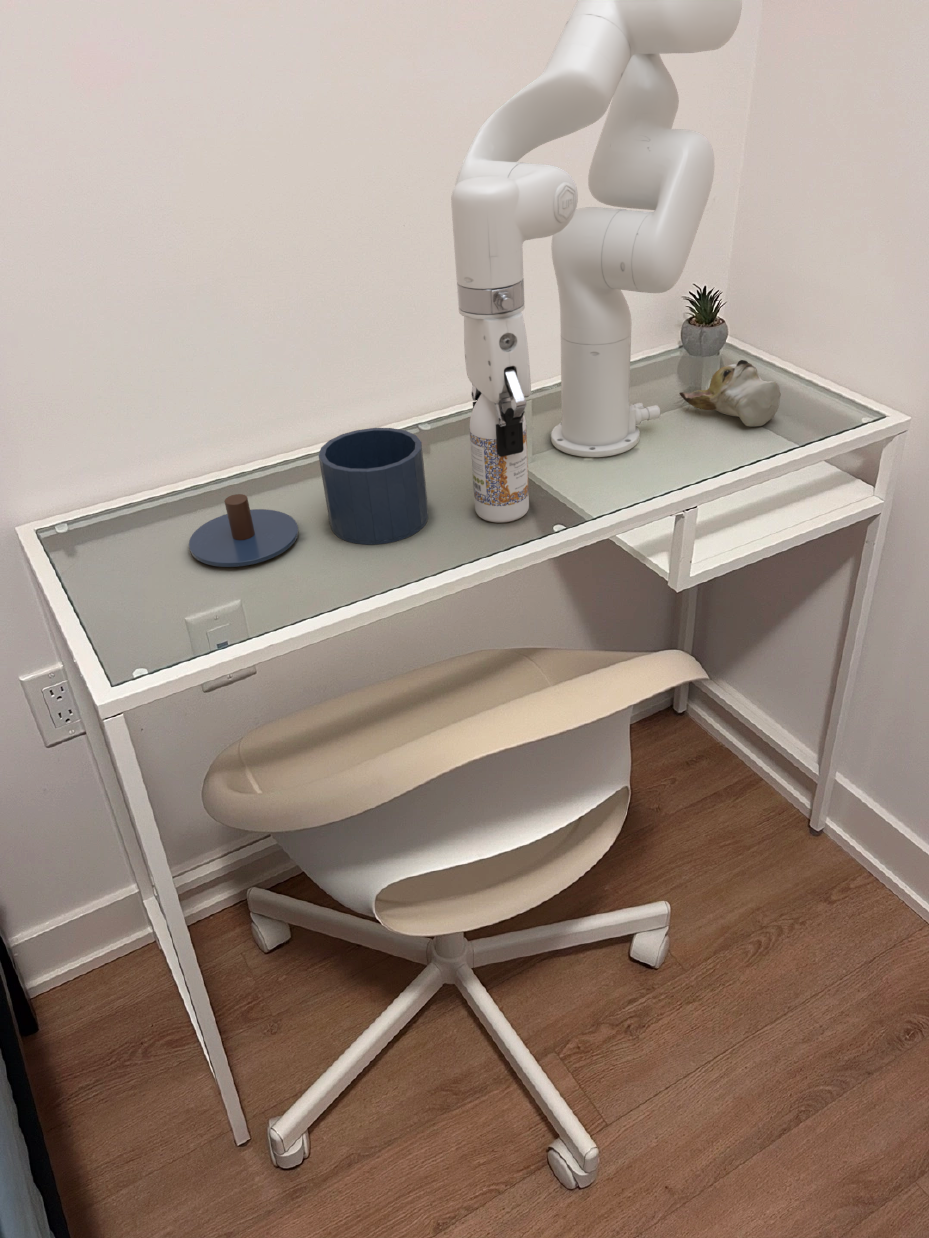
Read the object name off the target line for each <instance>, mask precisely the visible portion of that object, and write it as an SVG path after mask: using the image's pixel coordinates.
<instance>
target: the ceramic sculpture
mask: <svg viewBox="0 0 929 1238" xmlns="http://www.w3.org/2000/svg"><path fill="white" fill-rule="evenodd" d="M781 395H782V393H781V388H780V385H779V383H778V382H777V381H775V380H769V381H766V380H763V379H762V377H761V376H760V374H759V372H758V368H757V367H756V366H755V365H754V364H752V363H750V362H749V361H747V360H745V359H740V360H738V361H737V363H733V364H732V363H731V364H729V365H725V366H722V367H720V368H719V369H717V370H716V371H715V372H714V374H713V375H712V377H711V378H710V383H709V387H708V388H707V389H696V390H694V391H691V392H682V391H681V392H679V396H681V398H682V399H683V400H684V401H685V402H686V403H688V404H689V405H691V406H692V407H694V408H696V409H698V410H703V411H717V412H719V413H721V414H722V415H726V416H731V417H739V419H740V421H741V422H742V424H744V425H745V426H746V427H761V426H764V425H765V424H767V423H768V422H769V421H770V420H772V419H773V418H774V417H775V415H776V413H777V412H778V410H779V407H780V401H781Z"/></svg>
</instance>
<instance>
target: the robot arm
mask: <svg viewBox="0 0 929 1238" xmlns="http://www.w3.org/2000/svg"><path fill="white" fill-rule="evenodd" d="M742 6H743V0H576V2H575V4H574V6H573V8H572V11H571V12H570V15H569V16H568V18H567V21H566V22H565V25H564V27H563V29H562V31H561V34H560V35H559V38H558V40H557V42H556V44H555V46H554V48H553V50H552V51H551V54H550V57H549V59H548V61H547V62H546V65H545V68H544V69H543V71H542V73H540V75H539V76H538V77H536V78H535V79H534V80H532V81H531V82H529V83H528V84H526V85H525V86H523V87H522V88H521V89H520V90H518V91H517V92H516V93H515V94H513V95H512V96H510V98H509V99H507V100H506V101H505V102H504V103H503V104H502V105H500V107H498V108H497V109H495V111H493V112H492V113H491V114H490V115H489V116H488V117H487V118H486V119H485V121H484V122H483V123H482V124H481V126H480V127H479V128H478V130H477V132H476V133H475V135H474V137H473V138H472V141H471V143H470V146H469V147H468V150H467V151H466V154H465V156H464V158H463V161H462V163H461V165H460V167H459V170H458V173H457V176H456V179H455V183H454V187H453V188H452V191H451V197H450V203H451V204H450V205H451V219H452V232H453V233H452V234H453V247H454V249H453V250H454V263H455V274H456V289H457V292H456V293H457V306H458V313H459V314H460V315H461V316H462V317H463V342H464V345H463V346H464V348H463V349H464V363H465V371H466V377H467V379H468V381H469V382H470V383H471V385H472V386H471V392H470V393H471V399H472V409H473V408H474V406H475V404H476V402H477V400H478V399H479V397H480V395H481V394H483V395H484V396H485V397H487V398H488V399H489V400H490V401H492V402H494V403H495V408H496V413H497V417H498V422H499V424H496V440H497V454H498V455H499V456H500V457H503V456H508V455H512V454H517V453H521V452H523V449H524V448H523V421H524V418H523V415H524V416H525V410H526V407H527V401H526V399H527V398H529V397H531V394H532V382H531V381H532V380H531V368H530V355H529V346H528V338H527V337H528V336H527V330H526V325H525V319H524V313H522V312H523V311H524V310H525V308H526V307H525V306H526V305H525V278H524V256H523V255H524V253H523V252H524V251H523V246H524V245H523V244H524V242H525V241H531V240H535V239H543V238H548V237H551V245H550V247H551V259H552V260H551V261H552V265H553V271H554V275H555V279H556V284H557V291H558V299H559V300H558V301H559V317H560V319H559V321H560V389H561V391H560V393H561V395H560V396H561V401H560V403H561V404H560V405H561V422H559V423H558V424H557V425H555V426H554V427H553V428H552V429H551V432H550V442H551V444H552V445H553V446H554V447H555V448H556V449H557V450H559V451H561V452H563V453H565V454H568V455H571V456H575V457H576V456H577V457H583V458H607V457H611V456H617V455H620V454H623V453H625V452H628V451H630V450H631V449H633V448H635V447H636V446H637V444H638V443H639V442H640V429H639V428H638V426H639V425H641V423H642V422H644V421H652V420H656V419H659V418H660V417H661V409H660V407H659V405H658V404H654V405H650V406H649V405H648V406H644V404H643V402H637V403H633V404H630V395H631V394H630V392H631V391H630V390H631V359H632V358H631V356H632V354H631V353H632V351H631V350H632V314H631V310H630V307H629V304H628V301H627V299H626V297H625V295H624V293H623V291H628V292H636V293H644V294H662V293H665V292H668V291H670V290H671V289H673V288H674V286H675V285H676V284H677V283H678V281H679V280H680V278H681V276H682V274H683V272H684V269H685V268H686V267H685V266H686V265H687V261H688V258H689V256H690V253H691V250H692V247H693V245H694V241H695V238H696V235H697V233H698V229H699V227H700V225H701V221H702V218H703V216H704V213H705V209H706V207H707V204H708V200H709V197H710V194H711V191H712V186H713V182H714V175H715V153H714V149H713V146H712V143H711V141H710V140H709V139H708V138H707V137H706V136H705V135H704V134H703V133H701V132H699V131H696V130H692V129H685V128H684V129H683V128H673V126H674V123H675V119H676V116H677V112H678V110H679V103H680V97H679V92H678V90H677V86H676V84H675V81H674V78H673V77H672V75H671V73H670V72H669V70H668V68H667V67H666V65H665V64H664V61H663V59H662V57H661V54H663V55H664V54H665V55H666V54H667V55H669V54H695V53H701V52H710V51H715V50H719V49H720V48H723V46H725V45H726V44H727V43H728V42H729V41H730V40H731V38H733V36H734V34H735V33H736V30H737V28H738V26H739V23H740V19H741V15H742V8H743V7H742ZM608 108H609V109H608ZM607 111H608V112H607ZM606 112H607V114H606ZM604 115H606V118H605V120H604V123H603V127H602V129H601V132H600V135H599V138H598V141H597V143H596V147H595V150H594V151H593V156H592V158H591V163H590V166H589V170H588V176H587V182H588V183H587V184H588V190H589V192H590V194H591V197H593V198H594V199H595V200H596V202H599V203H601V204H604V205H606V206H610V207H601V206H600V207H599V206H586V207H579V208H578V202H579V201H578V199H579V193H578V187H577V184H576V182H575V180H574V178H573V177H572V176H571V174H570V173H569V172H567V170H565V169H564V168H561V167H559V166H556V165H553V164H545V163H532V162H530V163H529V162H519V161H520V160H521V159H522V158H523V157H524V156H526V155H527V154H529V153H530V152H531V151H533V150H535V149H537V148H538V147H540V146H543V145H544V144H547V143H549V142H552V141H555V140H558V139H560V138H563V137H565V136H568V135H571V134H574V133H576V132H578V131H581V130H582V129H585V128H587V127H589V126H591V125H593V124H595V123H596V122H598V121H599V120H600V119H601V118H602V117H603V116H604ZM612 207H616V208H612ZM632 209H635V210H632ZM643 210H647V211H643ZM507 392H508V393H509V396H510V397H506V398H500V397H499V394H502V393H507ZM506 403H511V405H510V406H511V407H510V408H508V409H507V410H506V412H505V414H504V410H503V405H502V404H506Z"/></svg>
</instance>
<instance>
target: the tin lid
mask: <svg viewBox="0 0 929 1238" xmlns="http://www.w3.org/2000/svg"><path fill="white" fill-rule="evenodd" d="M224 505H225V510H226V514H223V515H220V516H217V517H215V518H212V519H211V520H209V521H207V522H204V524H201V525H200V526H199V527H198V528H197V529H196V530H195V531H194V532H193V533H192V535H191V536H190V538H189V541H188V548H189V551H190V554H191V555H192V557H193V558H194V559H195V560H197V561H199V562H201V563H203V564H205V565H209V566H211V567H212V566H213V567H221V568H234V567H235V568H236V567H245V566H250V565H256V564H259V563H263V562H265V561H268V560H271V559H273V558H275V557H278V556H279V555H282V554H283V553H284V552H286V551H287V550H288V549H290V548H291V547H292V546H293V545H294V543H296V541H297V539H298V537H299V525H298V522H297V521H296V519H294V518H293V517H292V516H291V515H289V514H287V513H285V512H282V511H278V510H273V509H263V508H257V509H256V508H254V509H250V503H249V499H248V496H247V495H246V494H243V493H235V494H231V495H229V496H227V497H226V498H225V499H224Z"/></svg>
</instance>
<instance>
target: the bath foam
mask: <svg viewBox="0 0 929 1238" xmlns="http://www.w3.org/2000/svg"><path fill="white" fill-rule="evenodd" d="M499 397H500V398H506V397H510V396H509V393H508V392H507V393H502V394H499ZM476 401H477V402H476ZM476 401H475V402H476V404H475V406H474V408H473V407H472V411H471V414H470V417H469V418H470V419H469V428H468V429H469V431H468V432H469V443H470V456H471V457H470V458H471V472H472V485H473V486H472V487H473V496H474V497H473V498H474V499H473V500H474V510H475V513H476V515H477V516H478V517H479V518H480V519H482V520H484V521H487V522H490V523H509V522H515V521H517V520H519V519H521V518H523V517H524V516H525V515H526V514H527V513H528V512H529V509H530V497H529V496H530V489H529V488H530V487H529V486H530V485H529V463H528V462H529V461H528V460H529V458H528V457H529V456H528V433H527V431H528V430H527V421H526V417H525V414H524V415H523V418H524V421H523V448H524V449H523V452H521V453H517V454H512V455H508V456H503V457H500V456H499V455H498V454H497V440H496V424H499V422H498V417H497V413H496V408H495V403H494V402H492V401H490V400H489V399H488V398H487V397H485V396H484V395H483V394H481V395H480V397H479V399H478V400H476ZM502 405H503V410H504V414H505V412H506V410H507V409H508V408H510V407H511V406H510V405H511V403H506V404H502Z"/></svg>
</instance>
